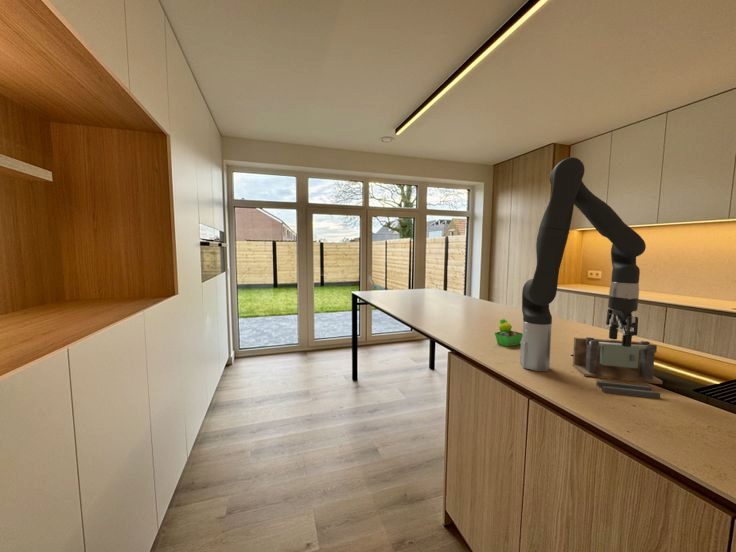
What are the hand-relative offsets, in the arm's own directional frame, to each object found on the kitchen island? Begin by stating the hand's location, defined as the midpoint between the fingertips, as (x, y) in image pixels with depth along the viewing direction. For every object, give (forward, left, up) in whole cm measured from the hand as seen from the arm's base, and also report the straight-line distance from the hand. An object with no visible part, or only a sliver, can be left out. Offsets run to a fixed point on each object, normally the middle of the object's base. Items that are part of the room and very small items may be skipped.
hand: (619, 342), depth 100 cm
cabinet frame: (0, +2, -12) cm, 12 cm away
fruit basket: (-30, +30, -12) cm, 44 cm away
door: (0, 0, -8) cm, 8 cm away
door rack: (-3, -12, -12) cm, 17 cm away
